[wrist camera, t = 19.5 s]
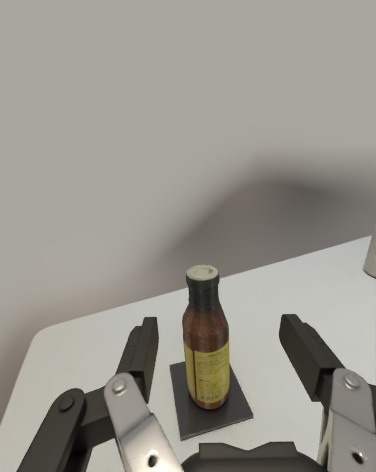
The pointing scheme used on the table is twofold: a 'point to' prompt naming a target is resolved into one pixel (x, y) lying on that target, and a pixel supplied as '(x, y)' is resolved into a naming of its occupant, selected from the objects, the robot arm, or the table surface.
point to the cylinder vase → (371, 256)
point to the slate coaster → (205, 420)
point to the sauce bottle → (206, 339)
